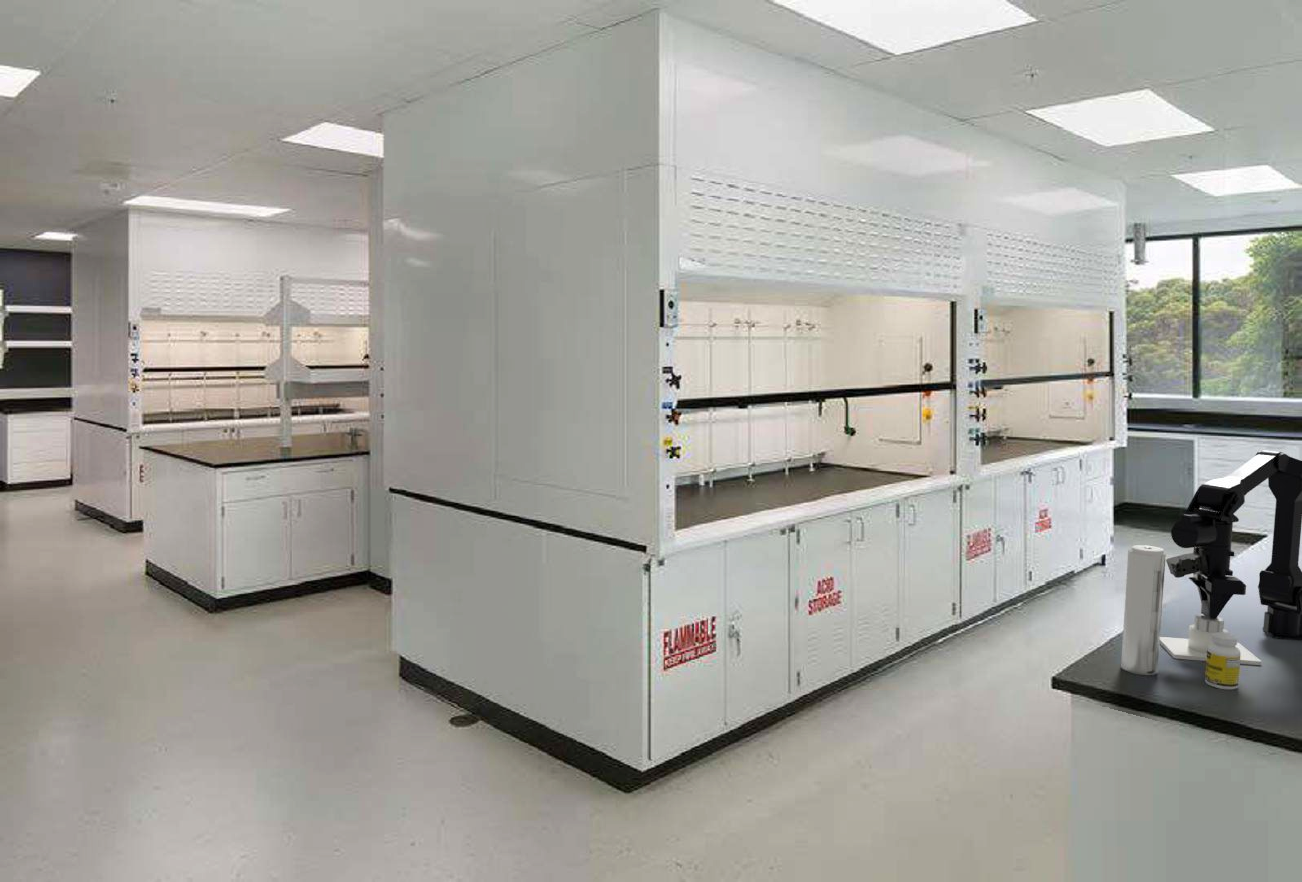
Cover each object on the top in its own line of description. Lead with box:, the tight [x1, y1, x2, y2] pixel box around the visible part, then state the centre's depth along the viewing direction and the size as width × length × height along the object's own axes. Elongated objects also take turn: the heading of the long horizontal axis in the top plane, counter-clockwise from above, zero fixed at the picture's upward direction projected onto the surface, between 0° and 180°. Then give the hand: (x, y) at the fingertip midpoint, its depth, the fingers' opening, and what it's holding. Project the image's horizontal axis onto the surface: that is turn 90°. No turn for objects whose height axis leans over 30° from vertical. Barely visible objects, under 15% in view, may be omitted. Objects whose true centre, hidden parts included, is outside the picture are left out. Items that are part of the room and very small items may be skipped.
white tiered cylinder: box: [1187, 613, 1229, 653], centre depth 189 cm, size 7×7×7 cm
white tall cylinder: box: [1120, 544, 1166, 676], centre depth 178 cm, size 6×6×25 cm
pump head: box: [1200, 600, 1220, 620], centre depth 189 cm, size 3×3×6 cm
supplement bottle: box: [1204, 632, 1241, 690], centre depth 170 cm, size 5×5×10 cm
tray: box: [1160, 636, 1263, 666], centre depth 189 cm, size 16×12×1 cm
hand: (1209, 616), depth 189 cm, fingers closed on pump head, 3 cm apart
